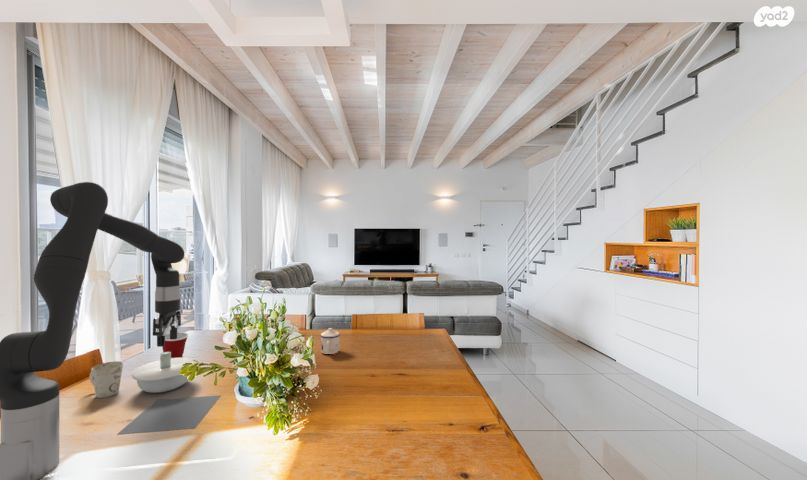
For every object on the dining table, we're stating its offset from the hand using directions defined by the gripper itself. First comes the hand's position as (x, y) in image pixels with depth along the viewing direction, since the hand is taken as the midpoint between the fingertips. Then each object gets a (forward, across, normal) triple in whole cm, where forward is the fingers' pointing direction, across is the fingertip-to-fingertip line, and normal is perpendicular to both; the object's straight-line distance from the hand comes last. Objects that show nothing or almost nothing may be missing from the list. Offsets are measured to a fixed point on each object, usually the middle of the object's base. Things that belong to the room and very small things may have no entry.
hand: (167, 342), depth 122 cm
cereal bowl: (+17, 0, +1) cm, 17 cm away
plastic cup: (+17, +27, +11) cm, 34 cm away
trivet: (+17, -20, -12) cm, 29 cm away
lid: (+10, 0, +1) cm, 10 cm away
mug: (+17, -1, +20) cm, 27 cm away
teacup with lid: (+17, +30, -56) cm, 66 cm away
